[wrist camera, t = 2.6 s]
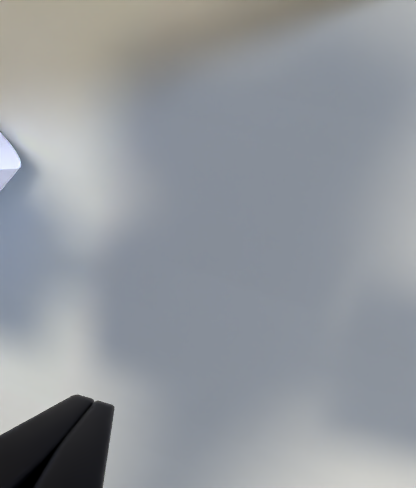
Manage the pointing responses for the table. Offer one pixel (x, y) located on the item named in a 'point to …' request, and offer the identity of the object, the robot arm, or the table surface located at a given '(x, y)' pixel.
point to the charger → (7, 161)
